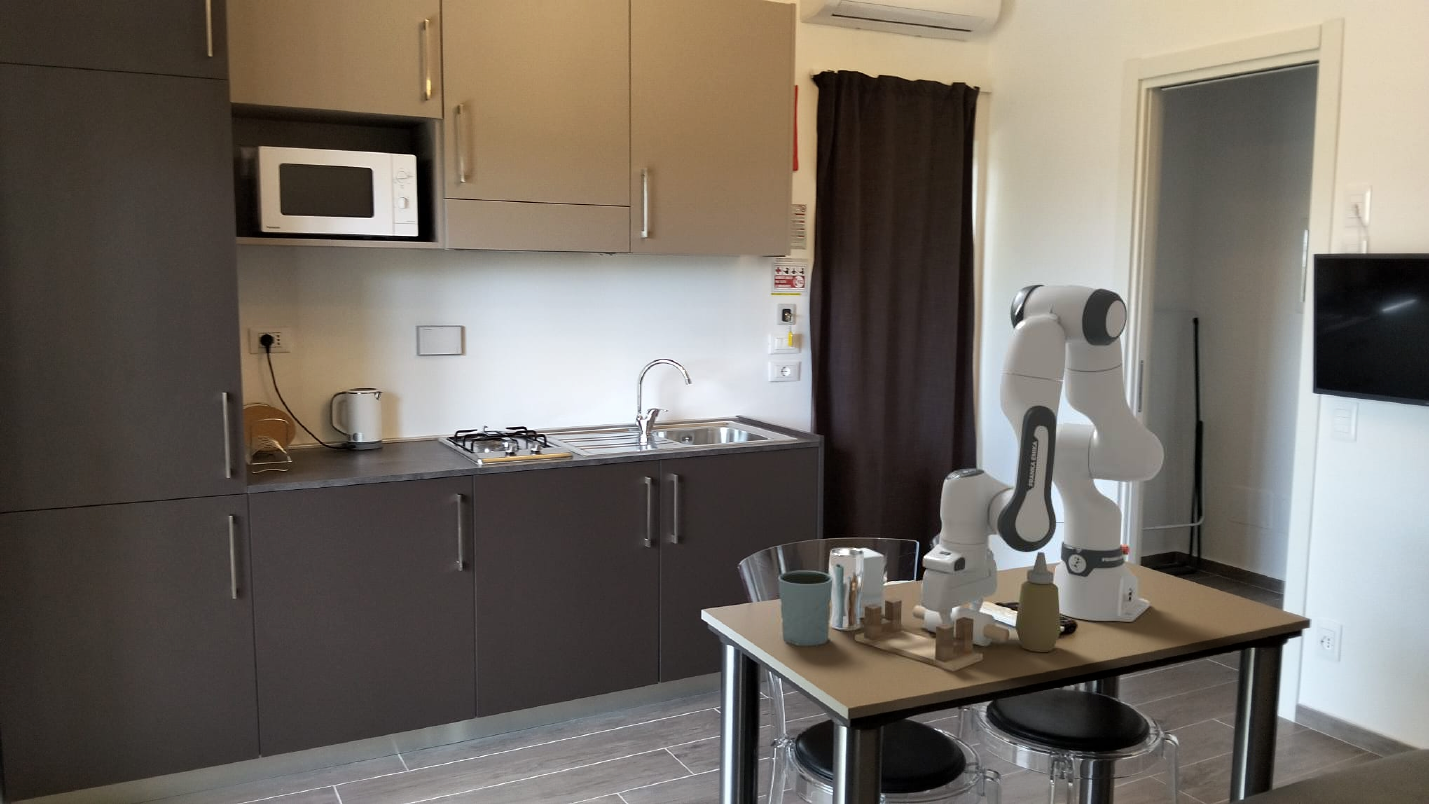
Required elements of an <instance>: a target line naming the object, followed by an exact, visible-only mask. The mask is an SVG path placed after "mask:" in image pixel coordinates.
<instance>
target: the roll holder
mask: <svg viewBox="0 0 1429 804" xmlns="http://www.w3.org/2000/svg"><path fill="white" fill-rule="evenodd" d="M902 602H903V600H902V599H899V598H895V597H892V598H889V599H886V600H884V618H882V616H883V615H882V606H879V605H875V604H871V605H868V606H865V618H864V620H863V621H864V622H863V623H864V625H863V627H864V628H863V629H864V630H863V632H861V633H858V634H855V635H854V641H856V642H859V643H862V644H865V645H869V646H871V647H875V648H878V649H880V650H884V651H887V652H890V653H894V654H897V655H900V656H904V657H906V658H909V659H913V660H916V661H919V662H922V663H926V664H929V665H931V666H935V667H939V668H941V669H945V670H947V671H951V672H956V671H958V670H961V669H963V668H965V667H968V666H970V665H972V664H975V663H978V662H980V661H983V654H982V653H979V652H976V651H973V650H974V649H973V645H974V644H973V622H974V619H970V618H966V617H962V618H959V619H956V638H954V626H951V625H948V624H942V625H939V626H936V633H935V639H931V638H928V637H925V636H921V635H918V634H914V633H911V632H907V631H904V630H902V604H903V603H902Z"/></svg>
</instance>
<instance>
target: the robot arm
mask: <svg viewBox="0 0 1429 804" xmlns="http://www.w3.org/2000/svg"><path fill="white" fill-rule="evenodd" d="M1127 314H1128V312H1127V307H1126V303H1125V302H1124V300H1123V299H1122V297H1121V296H1120V294H1119V293H1117V292H1115V291H1112V290H1109V289H1106V288H1093V287H1087V286H1082V285H1073V284H1067V285H1044V284H1033V285H1028V286H1025V287H1023V288H1021V290H1019V291H1018V292H1017V294H1016V295H1015V296H1014V298H1013V300H1012V302H1011V306H1010V313H1009V315H1010V321H1011V325H1012V328H1013V332H1012V334H1011V336H1010V337H1011V338H1010V339H1009V340H1010V341H1009V343H1008V347H1007V350H1006V354H1005V357H1004V363H1003V367H1002V373H1001V379H1000V384H999V388H1000V389H999V396H1000V398H999V401H1000V402H999V403H1000V408H1001V410H1002V412H1003V414H1004V416H1005V418H1007V420H1008V421H1009V423H1010V425H1011V427H1012V428H1013V431H1014V433H1015V437H1016V441H1017V456H1016V467H1015V469H1016V470H1015V479H1014V486H1013V485H1011V484H1007V483H1005V482H1003V481H1001V480H998V479H996V478H995V477H993V476H991V475H990V474H988V473H987V472H986V471H985V469H981V468H963V469H958V470H954V471H953V472H950V473H949V474H948V475H947V476H946V477H945V479H944V481H943V484H942V485H943V486H942V490H941V498H940V509H939V510H940V511H939V513H940V514H939V515H940V520H941V530H940V533H939V541H938V544H936V545H935V546H934V548H932V550H930V551H929V552H927V553H926V554H925V555H924V556H923V558H922V567H924V568H926V569H925V571H924V573H923V577H922V583H923V587H922V601H923V605H924V607H925V608H926V609H927V610H931V611H935V612H938V613H939V615H940V617H941V620H942V624H948V625H951V626H954V621H953V620H952V619H951V616H950V614H951V613H952V608H955V607H958V606H959V607H962V606H964V605H967V604H970V605H969V608H968V609H970V610H974V611H978V612H981V611H980V610H981V608H982V606H983V603H984V602H983V601H984V598H988V597H991V596H994V595H995V594H996V593H997V590H998V585H999V583H998V568H997V562H996V560H995V555H994V552H993V551H992V550H991V549H990V547H988V538H989V536H991V535H992V536H993V535H994V536H995V535H996V536H998V537H1000V538H1001V539H1002V540H1003V542H1004V543H1005V544H1006V545H1007V546H1008V547H1010V548H1011V549H1012V550H1014V551H1018V552H1020V553H1033V552H1035V551H1038V550H1041V549H1042V548H1044V547H1045V546H1046V545H1048V543H1050V541H1051V540H1052V539H1053V538H1054V535H1055V533H1056V529H1057V517H1056V513H1055V509H1054V506H1053V500H1052V487H1053V486H1052V485H1053V484H1054V485H1055V487H1056V489H1057V492H1058V494H1059V495H1060V499H1061V501H1062V506H1063V507H1062V508H1063V525H1064V526H1063V527H1064V528H1063V529H1064V530H1063V541H1062V542H1061V547H1060V559H1061V562H1060V563H1059V564H1057V565H1056V566H1055V568H1054V574H1053V583H1054V584H1055V585H1056V586H1057V587H1058V595H1059V611H1060V615H1063V616H1067V617H1070V618H1074V619H1080V620H1087V621H1095V622H1112V621H1113V622H1114V621H1115V622H1128V623H1130V622H1131V623H1132V622H1134V621H1135V620H1137V618H1138V617H1140V615H1142V614H1143V613H1144V612H1145V611H1146V610H1148V609H1149V607H1150V605H1151V603H1150V601H1149V600H1148V599H1144V598H1142V597H1139V580H1138V578H1137V577H1136V575H1134V573H1132V572H1131V571H1130V569H1129V568H1128V567H1127V566H1126V565H1125V556H1129V554H1130V546H1129V544H1127V545H1125V544H1124V545H1123V544H1121V541H1122V540H1121V539H1122V521H1123V519H1122V518H1123V515H1122V514H1123V513H1122V511H1121V509H1120V507H1119V506H1118V504H1117V503H1115V501H1113V500H1112V499H1111V498H1109V497H1107V496H1106V495H1104V494H1103V493H1101V492H1100V491H1099V489H1098V488H1097V487H1096V483H1095V480H1104V481H1112V482H1122V483H1123V482H1124V483H1131V482H1132V483H1133V482H1143V481H1150V480H1153V479H1154V478H1155V477H1156V475H1157V474H1159V472H1160V471H1161V468H1162V466H1163V463H1164V458H1165V453H1164V447H1163V445H1162V443H1161V441H1160V439H1159V438H1158V436H1157V435H1156V434H1154V433H1153V432H1152V431H1150V430H1149V429H1148V428H1146V426H1144V425H1143V424H1142V423H1141V422H1140V421H1139V420H1138V419H1137V417H1136V416H1135V415H1134V413H1133V412H1132V409H1131V408H1130V406H1129V404H1128V401H1127V398H1126V393H1125V385H1124V372H1123V371H1124V369H1123V368H1124V367H1123V350H1122V342H1121V335H1122V333H1123V331H1124V330H1125V327H1126V323H1127V316H1128V315H1127ZM1063 383H1064V395H1065V398H1066V401H1067V403H1068V404H1069V405H1070V407H1071V408H1073V409H1074V410H1075V411H1077V412H1078V413H1080V414H1081V415H1083V416H1084V417H1086V418H1088V419H1089V420H1090V422H1091V423H1092V424H1083V423H1082V424H1080V423H1069V422H1068V423H1067V422H1065V423H1058V416H1059V415H1058V414H1059V407H1060V401H1061V397H1062V396H1061V395H1062V389H1063Z"/></svg>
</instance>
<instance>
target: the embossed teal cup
mask: <svg viewBox="0 0 1429 804" xmlns="http://www.w3.org/2000/svg"><path fill="white" fill-rule="evenodd" d="M777 580H778V587H779V588H778V589H779V599H780V611H781V613H780V614H781V615H780V616H781V619H782V623H781V625H782V628H781V629H782V638H783V640H784V642H786V641H787V642H786V643H788V642H789V643H788V644H791V643H792V644H791V645H794V644H798V645H797V646H800V645H806V646H805V647H813V646H812V645H816V646H820V645H824V644H825V643H827V642H828V640H829V627H830V617H831V616H830V614H831V604H830V603H831V602H832V598H831V591H832V581H833V578H832V577H831V576H830V575H829V573H825V572H822V571H817V570H793V571H786V572H783V573H781V574H779V576H778V579H777ZM819 644H820V645H819ZM809 645H811V646H809Z"/></svg>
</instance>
